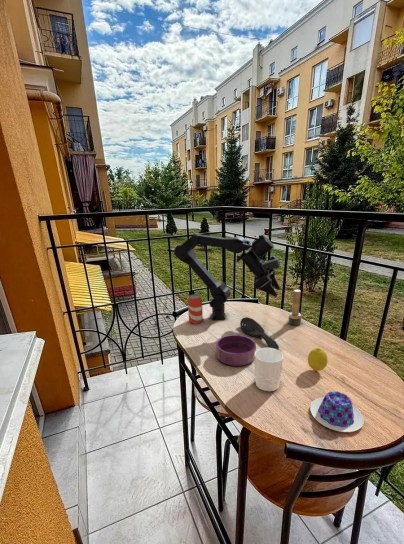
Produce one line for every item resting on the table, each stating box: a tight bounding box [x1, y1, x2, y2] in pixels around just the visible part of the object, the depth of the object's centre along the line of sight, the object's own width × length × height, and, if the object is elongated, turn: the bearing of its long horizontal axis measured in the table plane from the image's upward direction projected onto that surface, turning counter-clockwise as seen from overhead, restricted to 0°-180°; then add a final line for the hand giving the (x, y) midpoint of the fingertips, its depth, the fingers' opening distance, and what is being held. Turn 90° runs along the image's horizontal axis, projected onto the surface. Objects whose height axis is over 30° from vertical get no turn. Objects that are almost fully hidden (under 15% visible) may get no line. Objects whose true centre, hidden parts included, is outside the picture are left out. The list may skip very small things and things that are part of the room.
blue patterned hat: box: [309, 391, 365, 433], centre depth 68 cm, size 12×12×5 cm
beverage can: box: [187, 293, 204, 325], centre depth 123 cm, size 6×6×12 cm
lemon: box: [307, 347, 328, 372], centre depth 86 cm, size 6×6×8 cm
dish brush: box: [287, 289, 302, 327], centre depth 117 cm, size 5×5×15 cm
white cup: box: [254, 347, 284, 392], centre depth 80 cm, size 8×8×10 cm
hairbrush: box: [239, 316, 280, 351], centre depth 109 cm, size 8×4×25 cm
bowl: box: [215, 334, 257, 367], centre depth 95 cm, size 13×13×5 cm
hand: (277, 292), depth 115 cm, fingers open, 9 cm apart
